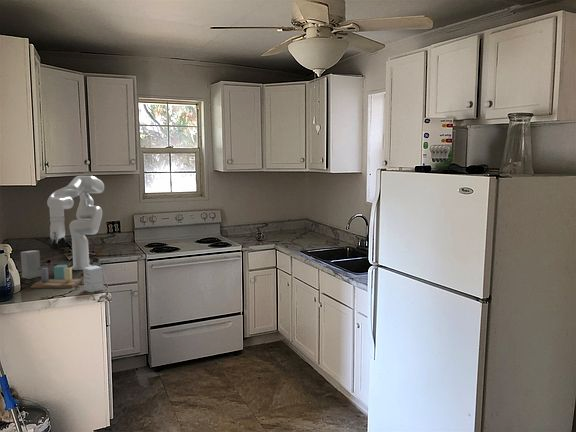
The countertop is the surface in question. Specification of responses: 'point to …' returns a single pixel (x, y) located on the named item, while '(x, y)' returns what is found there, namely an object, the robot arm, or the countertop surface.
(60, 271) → the turquoise block
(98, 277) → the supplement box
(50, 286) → the walnut base board
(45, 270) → the dark steel post
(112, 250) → the countertop surface
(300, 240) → the countertop surface
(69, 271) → the brass post
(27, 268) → the skincare box
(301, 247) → the countertop surface
